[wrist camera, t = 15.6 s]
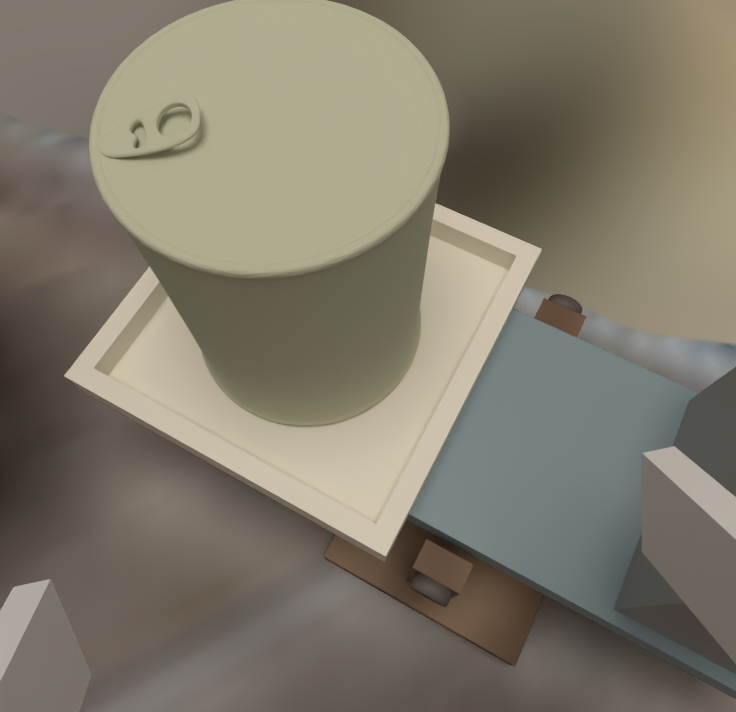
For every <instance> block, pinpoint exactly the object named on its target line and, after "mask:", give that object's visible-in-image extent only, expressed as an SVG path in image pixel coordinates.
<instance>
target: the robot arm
mask: <svg viewBox="0 0 736 712" xmlns="http://www.w3.org/2000/svg"><path fill="white" fill-rule="evenodd" d="M642 553H643V554H644V555H645V556H646V557H647V559H648V560H649V561H650V562H651V563H652V565H653V566H654V567H655V568H656V569H657V571H658V572H659V573H660V574H661V575H662V577H663V578H664V579H665V580H666V581H667V583H668V584H669V585H670V586H671V587H672V589H673V590H674V591H675V592H676V593H677V595H678V596H679V597H680V598H681V599H682V600H683V602H684V603H685V604H686V605H687V606H688V608H689V609H690V610H691V611H692V612H693V614H694V615H695V616H696V617H697V618H698V620H699V621H700V622H701V623H702V624H703V626H704V627H705V628H706V629H707V630H708V632H709V633H710V634H711V635H712V636H713V638H714V639H715V640H716V641H717V642H718V644H719V645H720V646H721V647H722V648H723V650H724V651H725V652H726V653H727V654H728V656H729V657H730V658H731V659H732V660H733V661H734V663H735V664H736V497H735V496H734V495H733V494H731V493H730V492H729V491H728V490H727V489H725V488H724V487H723V486H722V485H721V484H719V483H718V482H717V481H716V480H715V479H713V478H712V477H711V476H710V475H709V474H707V473H706V472H705V471H704V470H702V469H701V468H700V467H699V466H698V465H696V464H695V463H694V462H693V461H692V460H690V459H689V458H688V457H687V456H686V455H684V454H683V453H682V452H681V451H680V450H678V449H677V448H676V447H675V446H673V447H668V448H664V449H659V450H654V451H650V452H645V453H642ZM91 676H92V674H91V672H90V669H89V667H88V665H87V662H86V660H85V658H84V655H83V653H82V651H81V648H80V646H79V644H78V642H77V639H76V637H75V635H74V632H73V630H72V628H71V625H70V623H69V621H68V618H67V616H66V614H65V611H64V609H63V607H62V604H61V602H60V600H59V597H58V595H57V593H56V590H55V588H54V586H53V584H52V581H51V579H48V580H44V581H39V582H34V583H30V584H25V585H20V586H16V587H13V589H12V591H11V592H10V594H9V596H8V598H7V600H6V601H5V603H4V605H3V607H2V609H1V610H0V712H80V709H81V706H82V703H83V700H84V697H85V694H86V691H87V688H88V685H89V682H90V679H91Z"/></svg>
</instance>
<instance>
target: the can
mask: <svg viewBox="0 0 736 712" xmlns="http://www.w3.org/2000/svg"><path fill="white" fill-rule="evenodd" d="M449 127H450V126H449V113H448V108H447V103H446V99H445V95H444V92H443V89H442V87H441V84H440V82H439V80H438V78H437V76H436V74H435V72H434V70H433V69H432V67H431V66H430V65H429V63H428V62H427V60H426V59H425V58H424V56H423V55H422V54H421V53H420V51H419V50H418V49H417V48H416V47H415V46H414V45H413V44H412V43H411V42H410V41H409V40H408V39H407V38H405V37H404V36H403V35H402V34H400V33H399V32H398V31H397V30H395V29H394V28H392V27H391V26H389V25H388V24H386V23H384V22H383V21H381V20H379V19H377V18H375V17H373V16H371V15H369V14H367V13H365V12H363V11H360V10H357V9H355V8H352V7H349V6H346V5H343V4H339V3H335V2H331V1H327V0H235V1H230V2H226V3H222V4H218V5H215V6H211V7H208V8H205V9H202V10H200V11H197V12H195V13H192V14H190V15H187V16H185V17H183V18H181V19H179V20H177V21H175V22H173V23H171V24H170V25H168V26H166V27H165V28H163V29H161V30H160V31H158V32H157V33H155V34H154V35H152V36H151V37H149V38H148V39H147V40H146V41H145V42H143V43H142V44H141V45H140V46H139V47H137V48H136V49H135V50H134V51H133V52H132V53H131V54H130V55H129V56H128V57H127V58H126V59H125V60H124V61H123V62H122V63H121V65H119V67H118V68H117V70H116V71H115V72H114V74H113V75H112V76H111V78H110V79H109V81H108V83H107V84H106V86H105V88H104V90H103V92H102V94H101V96H100V98H99V101H98V103H97V106H96V108H95V111H94V114H93V118H92V123H91V128H90V137H89V155H90V163H91V168H92V173H93V176H94V180H95V182H96V185H97V188H98V190H99V192H100V194H101V197H102V199H103V201H104V202H105V204H106V206H107V207H108V209H109V210H110V211H111V213H112V214H113V216H114V217H115V219H116V220H117V221H118V222H119V223H120V224H121V226H122V227H123V228H124V229H125V230H126V231H127V232H128V234H129V235H130V236H131V238H132V239H133V241H134V243H135V244H136V246H137V247H138V249H139V250H140V252H141V254H142V255H143V257H144V258H145V260H146V261H147V263H148V265H149V266H150V268H151V269H152V271H153V272H154V274H155V275H156V277H157V279H158V280H159V282H160V283H161V285H162V286H163V288H164V290H165V291H166V293H167V295H168V296H169V298H170V299H171V301H172V303H173V304H174V306H175V308H176V309H177V311H178V312H179V314H180V316H181V317H182V319H183V321H184V322H185V324H186V326H187V327H188V329H189V330H190V332H191V334H192V335H193V337H194V339H195V341H196V342H197V344H198V346H199V348H200V349H201V352H202V355H203V358H204V361H205V364H206V366H207V368H208V370H209V372H210V374H211V376H212V378H213V379H214V381H215V382H216V383H217V385H218V386H219V387H220V389H221V390H222V391H223V392H224V393H225V394H226V395H227V396H228V397H229V398H230V399H231V400H232V401H234V402H235V403H236V404H237V405H239V406H240V407H242V408H243V409H245V410H247V411H248V412H250V413H252V414H254V415H256V416H258V417H260V418H263V419H266V420H268V421H272V422H275V423H279V424H284V425H291V426H321V425H328V424H332V423H337V422H340V421H344V420H347V419H349V418H352V417H354V416H357V415H359V414H361V413H363V412H365V411H366V410H368V409H370V408H372V407H373V406H375V405H376V404H378V403H379V402H380V401H381V400H383V399H384V398H385V397H386V396H387V395H389V394H390V393H391V392H392V390H393V389H394V388H395V387H396V386H397V385H398V384H399V383H400V381H401V380H402V379H403V377H404V376H405V374H406V373H407V371H408V369H409V367H410V366H411V364H412V361H413V359H414V356H415V354H416V351H417V348H418V345H419V340H420V333H421V311H420V302H421V294H422V287H423V280H424V274H425V267H426V260H427V253H428V246H429V239H430V232H431V226H432V220H433V214H434V208H435V202H436V196H437V190H438V184H439V179H440V174H441V171H442V168H443V165H444V162H445V158H446V155H447V150H448V144H449Z"/></svg>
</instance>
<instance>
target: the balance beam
mask: <svg viewBox="0 0 736 712" xmlns="http://www.w3.org/2000/svg"><path fill="white" fill-rule="evenodd" d="M541 250H542V249H540V248H538V247H536V246H533V245H531V244H529V243H527V242H524V241H522V240H519V239H517V238H515V237H513V236H510V235H508V234H506V233H503V232H501V231H499V230H496V229H494V228H492V227H489V226H487V225H485V224H482V223H480V222H478V221H475V220H473V219H471V218H468V217H466V216H464V215H462V214H459V213H457V212H454V211H452V210H450V209H448V208H445V207H443V206H441V205H438V204H436V203H435V208H434V214H433V220H432V226H431V232H430V239H429V246H428V253H427V260H426V267H425V274H424V280H423V287H422V294H421V302H420V311H421V333H420V340H419V345H418V348H417V351H416V354H415V356H414V359H413V361H412V364H411V366H410V367H409V369H408V371H407V373H406V374H405V376H404V377H403V379H402V380H401V381H400V383H399V384H398V385H397V386H396V387H395V388H394V389H393V390H392V392H391V393H390V394H389V395H387V396H386V397H385V398H384V399H383V400H381V401H380V402H379V403H378V404H376V405H375V406H373V407H372V408H370V409H368V410H366V411H365V412H363V413H361V414H359V415H357V416H354V417H352V418H349V419H347V420H344V421H340V422H337V423H332V424H328V425H321V426H291V425H284V424H279V423H275V422H272V421H268V420H266V419H263V418H260V417H258V416H256V415H254V414H252V413H250V412H248V411H247V410H245V409H243V408H242V407H240V406H239V405H237V404H236V403H235V402H234V401H232V400H231V399H230V398H229V397H228V396H227V395H226V394H225V393H224V392H223V391H222V390H221V389H220V387H219V386H218V385H217V383H216V382H215V381H214V379H213V378H212V376H211V374H210V372H209V370H208V368H207V366H206V364H205V361H204V358H203V355H202V352H201V349H200V348H199V346H198V344H197V342H196V341H195V339H194V337H193V335H192V334H191V332H190V330H189V329H188V327H187V326H186V324H185V322H184V321H183V319H182V317H181V316H180V314H179V312H178V311H177V309H176V308H175V306H174V304H173V303H172V301H171V299H170V298H169V296H168V295H167V293H166V291H165V290H164V288H163V286H162V285H161V283H160V282H159V280H158V279H157V277H156V275H155V274H154V272H153V271H152V269H151V268H150V267H149V268H148V269H147V270H146V272H145V273H144V274H143V276H142V277H141V278H140V279H139V281H138V282H137V283H136V284H135V286H134V287H133V288H132V290H131V291H130V292H129V293H128V295H127V296H126V297H125V299H124V300H123V301H122V302H121V304H120V305H119V306H118V307H117V309H116V310H115V311H114V313H113V314H112V315H111V316H110V318H109V319H108V320H107V322H106V323H105V324H104V325H103V327H102V328H101V329H100V330H99V332H98V333H97V334H96V336H95V337H94V338H93V339H92V341H91V342H90V343H89V345H88V346H87V347H86V348H85V350H84V351H83V352H82V353H81V355H80V356H79V357H78V359H77V360H76V361H75V362H74V364H73V365H72V366H71V368H70V369H69V370H68V371H67V373H66V374H65V375H64V377H66V378H67V379H68V380H69V381H71V382H72V383H73V384H74V385H75V386H77V387H78V388H79V389H80V390H82V391H83V392H84V393H85V394H87V395H89V396H90V397H92V398H94V399H96V400H98V401H99V402H101V403H103V404H105V405H106V406H108V407H110V408H112V409H114V410H115V411H117V412H119V413H121V414H122V415H124V416H126V417H128V418H130V419H131V420H133V421H135V422H137V423H138V424H140V425H142V426H144V427H146V428H147V429H149V430H151V431H153V432H154V433H156V434H158V435H160V436H161V437H163V438H165V439H167V440H169V441H170V442H172V443H174V444H176V445H177V446H179V447H181V448H183V449H185V450H186V451H188V452H190V453H192V454H193V455H195V456H197V457H199V458H201V459H202V460H204V461H206V462H208V463H209V464H211V465H213V466H215V467H217V468H218V469H220V470H222V471H224V472H225V473H227V474H229V475H231V476H233V477H234V478H236V479H238V480H240V481H241V482H243V483H245V484H247V485H248V486H250V487H252V488H254V489H256V490H257V491H259V492H261V493H263V494H264V495H266V496H268V497H270V498H272V499H273V500H275V501H277V502H279V503H280V504H282V505H284V506H286V507H288V508H289V509H291V510H293V511H295V512H296V513H298V514H300V515H302V516H304V517H305V518H307V519H309V520H311V521H312V522H314V523H316V524H318V525H320V526H321V527H323V528H325V529H327V530H328V531H330V532H332V533H334V534H335V535H337V536H339V537H341V538H343V539H344V540H346V541H348V542H350V543H351V544H353V545H355V546H357V547H359V548H360V549H362V550H364V551H366V552H367V553H369V554H371V555H373V556H375V557H376V558H378V559H380V560H382V561H383V562H385V561H386V559H387V557H388V555H389V553H390V551H391V549H392V547H393V545H394V543H395V541H396V539H397V537H398V535H399V533H400V531H401V529H402V527H403V525H404V523H405V521H406V520H408V521H410V522H412V523H413V524H415V525H417V526H419V527H421V528H423V529H424V530H426V531H428V532H430V533H432V534H434V535H435V536H437V537H439V538H441V539H443V540H445V541H446V542H448V543H450V544H452V545H454V546H456V547H457V548H459V549H461V550H463V551H465V552H467V553H468V554H470V555H472V556H474V557H476V558H478V559H479V560H481V561H483V562H485V563H487V564H489V565H490V566H492V567H494V568H496V569H498V570H500V571H502V572H503V573H505V574H507V575H509V576H511V577H513V578H514V579H516V580H518V581H520V582H522V583H524V584H525V585H527V586H529V587H531V588H533V589H535V590H536V591H538V592H540V593H542V594H544V595H546V596H547V597H549V598H551V599H553V600H555V601H557V602H558V603H560V604H562V605H564V606H566V607H568V608H569V609H571V610H573V611H575V612H577V613H579V614H581V615H582V616H584V617H586V618H588V619H590V620H592V621H593V622H595V623H597V624H599V625H601V626H603V627H604V628H606V629H608V630H610V631H612V632H614V633H615V634H617V635H619V636H621V637H623V638H625V639H626V640H628V641H630V642H632V643H634V644H636V645H637V646H639V647H641V648H643V649H645V650H647V651H648V652H650V653H652V654H654V655H656V656H658V657H659V658H661V659H663V660H665V661H667V662H669V663H671V664H672V665H674V666H676V667H678V668H680V669H682V670H683V671H685V672H687V673H689V674H691V675H693V676H694V677H696V678H698V679H700V680H702V681H704V682H705V683H707V684H709V685H711V686H713V687H715V688H716V689H718V690H720V691H722V692H724V693H726V694H727V695H729V696H731V697H733V698H735V699H736V664H735V663H734V661H733V660H732V659H731V658H730V657H729V656H728V654H727V653H726V652H725V651H724V650H723V648H722V647H721V646H720V645H719V644H718V642H717V641H716V640H715V639H714V638H713V636H712V635H711V634H710V633H709V632H708V630H707V629H706V628H705V627H704V626H703V624H702V623H701V622H700V621H699V620H698V618H697V617H696V616H695V615H694V614H693V612H692V611H691V610H690V609H689V608H688V606H687V605H686V604H685V603H684V602H683V600H682V599H681V598H680V597H679V596H678V595H677V593H676V592H675V591H674V590H673V589H672V587H671V586H670V585H669V584H668V583H667V581H666V580H665V579H664V578H663V577H662V575H661V574H660V573H659V572H658V571H657V569H656V568H655V567H654V566H653V565H652V563H651V562H650V561H649V560H648V559H647V557H646V556H645V555H644V554H643V553H642V453H645V452H650V451H654V450H659V449H664V448H668V447H673V446H675V447H676V448H677V449H678V450H680V451H681V452H682V453H683V454H684V455H686V456H687V457H688V458H689V459H690V460H692V461H693V462H694V463H695V464H696V465H698V466H699V467H700V468H701V469H702V470H704V471H705V472H706V473H707V474H709V475H710V476H711V477H712V478H713V479H715V480H716V481H717V482H718V483H719V484H721V485H722V486H723V487H724V488H725V489H727V490H728V491H729V492H730V493H731V494H733V495H734V496H735V497H736V367H735V368H734V369H732V370H731V371H729V372H728V373H727V374H725V375H724V376H722V377H721V378H720V379H718V380H717V381H716V382H714V383H713V384H711V385H710V386H709V387H707V388H706V389H704V390H703V391H702V392H700V393H697V392H695V391H693V390H691V389H688V388H686V387H684V386H682V385H680V384H677V383H675V382H673V381H671V380H669V379H666V378H664V377H662V376H660V375H658V374H655V373H653V372H651V371H649V370H647V369H644V368H642V367H640V366H638V365H636V364H633V363H631V362H629V361H627V360H625V359H622V358H620V357H618V356H616V355H614V354H611V353H609V352H607V351H605V350H603V349H600V348H598V347H596V346H594V345H592V344H589V343H587V342H585V341H583V340H581V339H578V338H576V337H574V336H572V335H570V334H567V333H565V332H563V331H561V330H559V329H557V328H554V327H552V326H550V325H548V324H546V323H543V322H541V321H539V320H537V319H535V318H532V317H530V316H528V315H526V314H524V313H521V312H519V311H517V310H515V309H513V308H514V306H515V304H516V302H517V300H518V298H519V296H520V294H521V292H522V291H523V289H524V287H525V285H526V283H527V281H528V279H529V277H530V275H531V273H532V270H533V268H534V266H535V264H536V261H537V259H538V257H539V254H540V252H541Z"/></svg>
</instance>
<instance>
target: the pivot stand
mask: <svg viewBox="0 0 736 712" xmlns="http://www.w3.org/2000/svg"><path fill="white" fill-rule="evenodd" d="M581 313H582V307H581V305H580V304H579V303H578V302H577V301H576V300H574V299H573V298H571V297H569V296H566V295H561V294H556V295H552V296H551V297H550V298H549V299H548V300H547V299H545V298H544V300H543V302H542V304H541V306H540V308H539V310H538V312H537V314H536V316H535V319H537V320H539V321H541V322H543V323H546V324H548V325H550V326H552V327H554V328H557V329H559V330H561V331H563V332H565V333H567V334H570V335H572V336H574V337H576V338H577V336H578V334H579V331H580V329H581V327H582V325H583V323H584V320H585V318H586V316H583V315H581ZM324 558H325V559H326V560H328V561H330V562H331V563H333V564H335V565H337V566H338V567H340V568H342V569H344V570H345V571H347V572H349V573H351V574H352V575H354V576H356V577H357V578H359V579H361V580H363V581H364V582H366V583H368V584H370V585H371V586H373V587H375V588H377V589H378V590H380V591H382V592H384V593H385V594H387V595H389V596H391V597H392V598H394V599H396V600H398V601H399V602H401V603H403V604H405V605H406V606H408V607H410V608H412V609H413V610H415V611H417V612H419V613H420V614H422V615H424V616H426V617H427V618H429V619H431V620H433V621H434V622H436V623H438V624H439V625H441V626H443V627H445V628H446V629H448V630H450V631H452V632H453V633H455V634H457V635H459V636H460V637H462V638H464V639H466V640H467V641H469V642H471V643H473V644H474V645H476V646H478V647H480V648H481V649H483V650H485V651H487V652H488V653H490V654H492V655H494V656H495V657H497V658H499V659H501V660H502V661H504V662H506V663H508V664H510V665H514V666H515V665H516V663H517V660H518V658H519V655H520V653H521V650H522V648H523V646H524V643H525V641H526V638H527V636H528V633H529V631H530V628H531V626H532V623H533V621H534V618H535V616H536V613H537V611H538V609H539V606H540V604H541V601H542V599H543V596H544V594H542V593H540V592H538V591H536V590H535V589H533V588H531V587H529V586H527V585H525V584H524V583H522V582H520V581H518V580H516V579H514V578H513V577H511V576H509V575H507V574H505V573H503V572H502V571H500V570H498V569H496V568H494V567H492V566H490V565H489V564H487V563H485V562H483V561H481V560H479V559H478V558H476V557H474V556H472V555H470V554H468V553H467V552H465V551H463V550H461V549H459V548H457V547H456V546H454V545H452V544H450V543H448V542H446V541H445V540H443V539H441V538H439V537H437V536H435V535H434V534H432V533H430V532H428V531H426V530H424V529H423V528H421V527H419V526H417V525H415V524H413V523H412V522H410V521H408V520H406V521H405V523H404V525H403V527H402V529H401V531H400V533H399V535H398V537H397V539H396V541H395V543H394V545H393V547H392V549H391V551H390V553H389V555H388V557H387V559H386V561H385V562H383V561H382V560H380V559H378V558H376V557H375V556H373V555H371V554H369V553H367V552H366V551H364V550H362V549H360V548H359V547H357V546H355V545H353V544H351V543H350V542H348V541H346V540H344V539H343V538H341V537H339V536H337V535H335V536H334V538H333V539H332V541H331V543H330V545H329V547H328V549H327V550H326V552H325V554H324Z"/></svg>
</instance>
